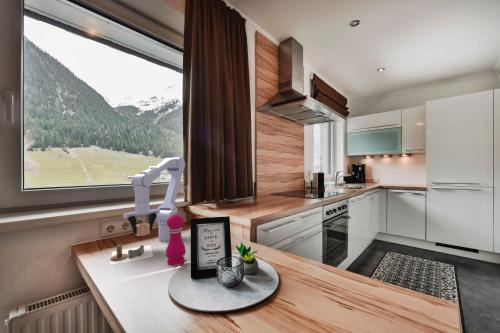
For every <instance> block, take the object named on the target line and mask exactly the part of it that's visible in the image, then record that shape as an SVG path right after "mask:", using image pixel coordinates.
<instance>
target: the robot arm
mask: <svg viewBox="0 0 500 333" xmlns="http://www.w3.org/2000/svg"><path fill="white" fill-rule="evenodd" d="M162 160H163V161H162V162H160V163H159V164H157V165H156V166H155V165H153V166H152V165H151V166H148V169H146V170H142V172H141V173H139V174H135V175H134V176H133V177H132V180H131V181H130V182H131V185H132V186H133V191H134V211H131V212H130V211H129V212H124V213H122V214H123V216H122V217H123V219H127V221H128V222H129V224H130V226H131V228H132V229H131V230H132V233H133V234H134V235H135V234H136V225H137V223H138V222H137V217H141V216H142V217H143V216H147V219H148V220H147V221H148V224H150V232H152V231H153V227H154V224H155V221H156V223H157V224H158V241H159V242H169V240H170V233H169V232H168V231H169V230H168V229H169V227H168V225H167V220H168V218H169V217H170V216H172V215H173V212H174V211H177V212H178V207H176V205H175V203H176V200H177V197H178V196H177V195H178V192H179V188H180V184H181V181H182V176H183V173H184V171H185V167H186V162H185V159H184V157H183V156H175V157H165V158H164V159H162ZM165 170H166V171H167V172H168V174H169V175H170V180H169V183H168V186H167V187H168V188H167V191H166V193H165V197H164V201H163V203H162V204H160V205H159V206H158V207H157V208H154V209H153V208H152V209H150V187H152V185H153V182H154V181H155V180H156V179H157V178H159V177H160V176H161V173H162V172H163V171H165Z"/></svg>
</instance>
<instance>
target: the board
mask: <svg viewBox="0 0 500 333" xmlns="http://www.w3.org/2000/svg"><path fill="white" fill-rule="evenodd" d="M138 248H140V246H139V247H132V248H127V249H126V248H125V249H122V254H128V250H136V249H138ZM115 255H117V250H114V251H112V252H111V257H112V256H115ZM111 257H110V258H111ZM148 258H154V254H153V250H152V246H151V245H150V244H149V245H144V253H142V255H141V256H136V257H132V258H128V257H127V258H126V259H124V260H120V261H111V259H110V261H109V266H113V265H117V264H125V263H129V262H134V261H140V260H144V259H148Z"/></svg>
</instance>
